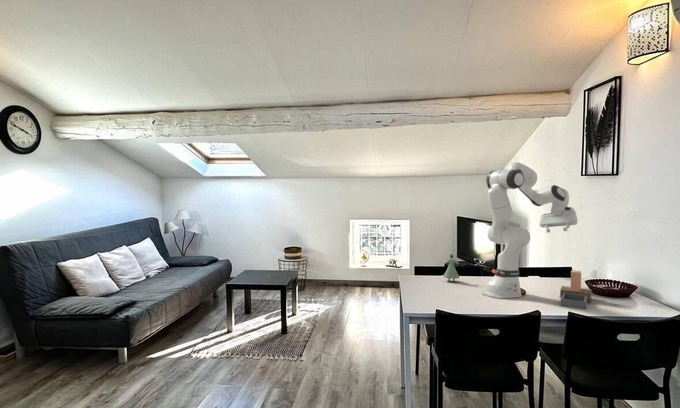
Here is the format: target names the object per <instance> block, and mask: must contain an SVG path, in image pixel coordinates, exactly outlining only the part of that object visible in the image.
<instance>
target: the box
mask: <svg viewBox="0 0 680 408" xmlns="http://www.w3.org/2000/svg"><path fill="white" fill-rule="evenodd" d="M587 305H588V302H587V296H585V295H577V294H569V293H563V295H562V297H561V299H560V307H561V306H562V307H568V308H574V309H581V310H587Z"/></svg>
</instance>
